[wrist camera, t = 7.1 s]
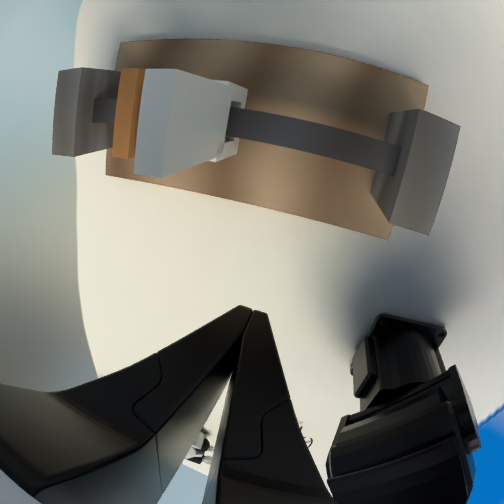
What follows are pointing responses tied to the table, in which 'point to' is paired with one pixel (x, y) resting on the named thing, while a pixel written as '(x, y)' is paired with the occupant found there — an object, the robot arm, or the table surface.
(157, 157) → the white l-bracket
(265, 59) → the rail board
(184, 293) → the table surface
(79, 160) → the table surface
